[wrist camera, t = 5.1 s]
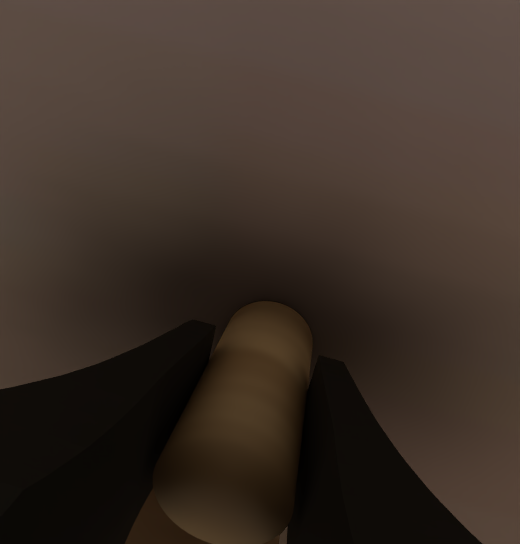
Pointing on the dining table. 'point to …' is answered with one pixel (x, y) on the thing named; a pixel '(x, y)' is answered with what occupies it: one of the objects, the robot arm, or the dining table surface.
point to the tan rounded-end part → (235, 438)
